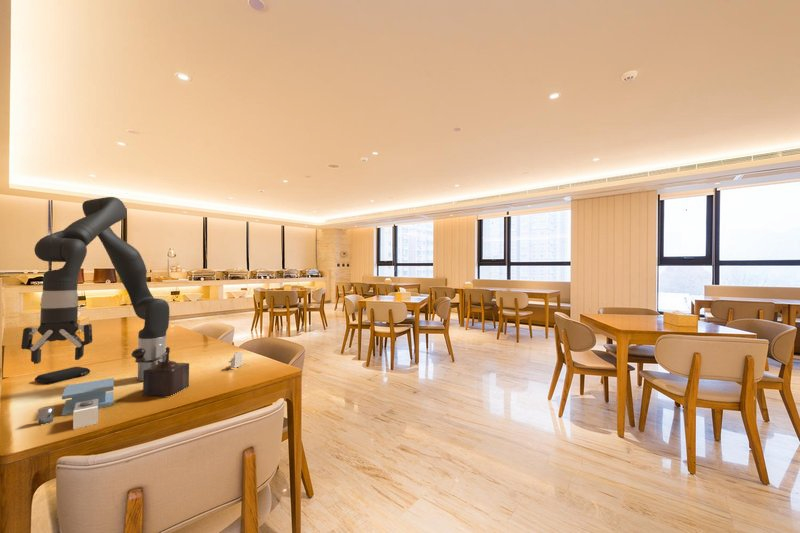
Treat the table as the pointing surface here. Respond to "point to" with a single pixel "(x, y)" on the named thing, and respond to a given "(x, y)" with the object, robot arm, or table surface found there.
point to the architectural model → (236, 360)
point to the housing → (85, 413)
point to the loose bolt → (45, 415)
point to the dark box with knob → (162, 375)
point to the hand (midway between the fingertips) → (57, 361)
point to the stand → (88, 394)
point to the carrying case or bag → (62, 375)
